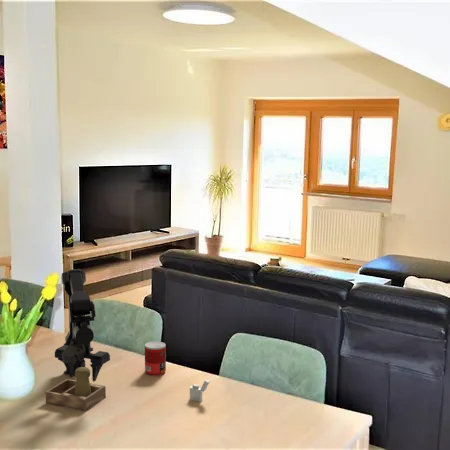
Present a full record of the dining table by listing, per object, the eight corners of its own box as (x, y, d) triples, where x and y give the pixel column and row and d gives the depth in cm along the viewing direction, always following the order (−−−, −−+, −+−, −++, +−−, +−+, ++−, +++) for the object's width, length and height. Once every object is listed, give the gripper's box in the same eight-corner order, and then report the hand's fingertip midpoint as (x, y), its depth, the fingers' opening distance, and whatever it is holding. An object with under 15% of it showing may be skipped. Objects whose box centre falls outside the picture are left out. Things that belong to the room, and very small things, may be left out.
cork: (87, 403, 205) (86, 372, 204) (70, 401, 207) (69, 370, 205) (95, 396, 211) (94, 365, 210) (78, 394, 213) (78, 364, 211)
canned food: (164, 376, 231) (164, 348, 230) (143, 375, 231) (143, 347, 230) (166, 368, 239) (166, 341, 237) (146, 368, 239) (146, 340, 237)
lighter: (189, 399, 211) (189, 377, 210) (191, 397, 213) (191, 375, 212) (207, 403, 208) (208, 381, 207) (210, 401, 210) (210, 379, 209)
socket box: (45, 402, 208) (45, 391, 207) (67, 389, 219) (67, 378, 218) (85, 411, 202) (85, 399, 201) (105, 397, 213) (105, 386, 212)
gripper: (43, 338, 202) (44, 383, 204) (91, 346, 195) (92, 393, 197) (64, 328, 212) (65, 371, 214) (110, 335, 205) (111, 380, 207)
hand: (82, 379), depth 208 cm, fingers open, 9 cm apart
